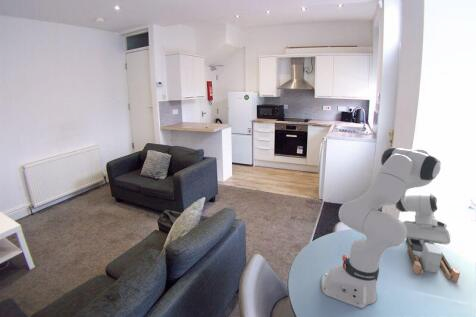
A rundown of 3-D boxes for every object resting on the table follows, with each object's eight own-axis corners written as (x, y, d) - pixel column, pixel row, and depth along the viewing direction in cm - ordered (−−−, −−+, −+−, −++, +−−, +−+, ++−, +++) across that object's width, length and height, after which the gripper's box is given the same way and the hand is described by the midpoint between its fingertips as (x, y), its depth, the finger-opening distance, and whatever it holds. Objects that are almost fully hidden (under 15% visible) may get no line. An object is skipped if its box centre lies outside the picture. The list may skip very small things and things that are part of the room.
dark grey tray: (409, 250, 146) (410, 245, 146) (405, 240, 155) (406, 236, 154) (436, 254, 143) (437, 249, 142) (430, 245, 151) (431, 240, 150)
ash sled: (419, 273, 129) (423, 256, 126) (412, 255, 142) (415, 240, 139) (450, 279, 125) (454, 262, 123) (439, 260, 138) (443, 244, 135)
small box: (437, 273, 129) (443, 254, 126) (424, 270, 131) (428, 251, 128) (432, 263, 137) (437, 244, 133) (419, 260, 138) (424, 242, 135)
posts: (414, 273, 129) (416, 264, 128) (412, 269, 132) (414, 260, 130) (457, 282, 124) (460, 273, 122) (454, 278, 127) (457, 268, 125)
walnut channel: (414, 268, 133) (415, 262, 132) (407, 251, 146) (408, 246, 145) (450, 275, 128) (452, 270, 127) (440, 257, 141) (441, 252, 140)
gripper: (404, 218, 146) (405, 244, 140) (450, 224, 140) (453, 252, 134) (401, 221, 151) (401, 247, 145) (444, 228, 145) (447, 255, 139)
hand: (426, 249), depth 139 cm, fingers closed, pressing on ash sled
